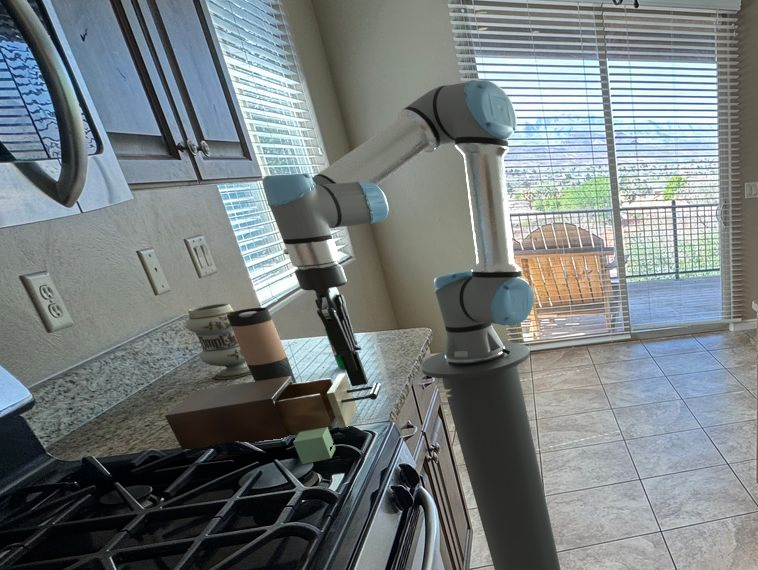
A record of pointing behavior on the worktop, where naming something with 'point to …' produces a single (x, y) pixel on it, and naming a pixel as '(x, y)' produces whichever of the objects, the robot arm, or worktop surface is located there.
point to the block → (314, 445)
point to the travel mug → (260, 344)
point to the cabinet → (230, 415)
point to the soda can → (338, 359)
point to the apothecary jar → (217, 340)
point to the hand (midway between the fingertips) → (360, 384)
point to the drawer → (320, 404)
